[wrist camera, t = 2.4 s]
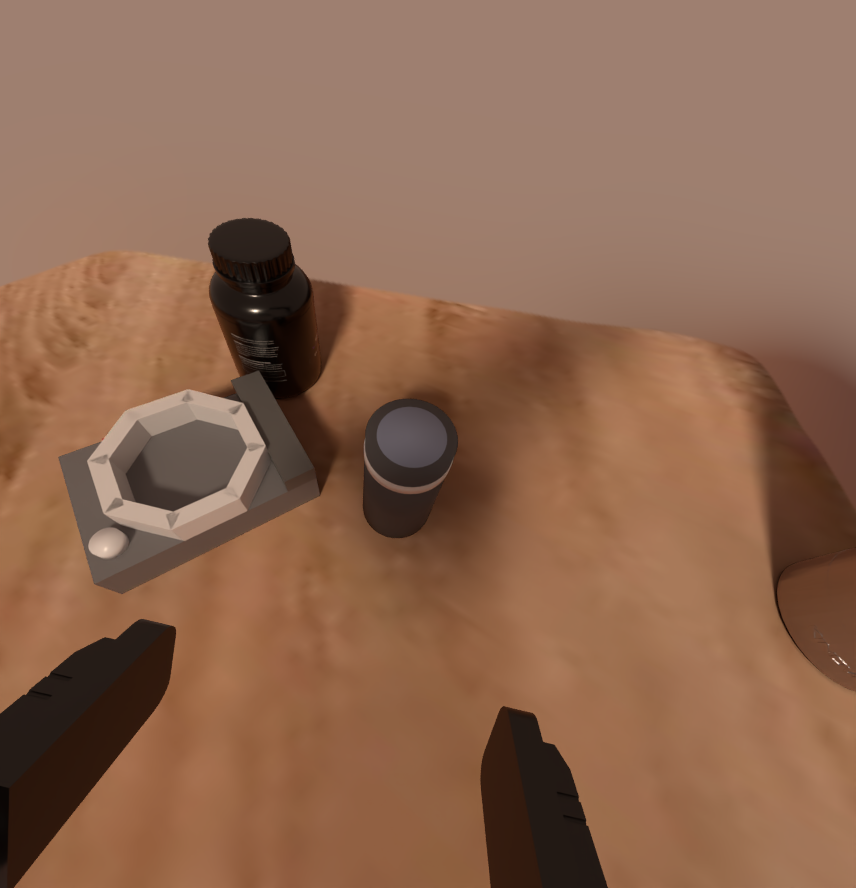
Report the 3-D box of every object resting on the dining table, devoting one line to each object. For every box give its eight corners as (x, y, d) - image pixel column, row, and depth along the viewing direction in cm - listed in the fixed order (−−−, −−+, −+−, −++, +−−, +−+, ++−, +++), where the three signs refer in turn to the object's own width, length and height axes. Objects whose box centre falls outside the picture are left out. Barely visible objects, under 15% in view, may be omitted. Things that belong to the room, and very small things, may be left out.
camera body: (270, 407, 32) (257, 365, 28) (319, 495, 29) (313, 464, 25) (86, 477, 27) (36, 440, 23) (121, 594, 24) (71, 576, 20)
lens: (407, 464, 32) (425, 385, 23) (443, 516, 30) (477, 452, 21) (349, 493, 30) (346, 419, 21) (384, 551, 28) (396, 496, 19)
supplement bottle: (338, 369, 35) (330, 244, 25) (278, 415, 32) (242, 293, 22) (284, 329, 37) (256, 195, 27) (221, 369, 34) (162, 234, 23)
